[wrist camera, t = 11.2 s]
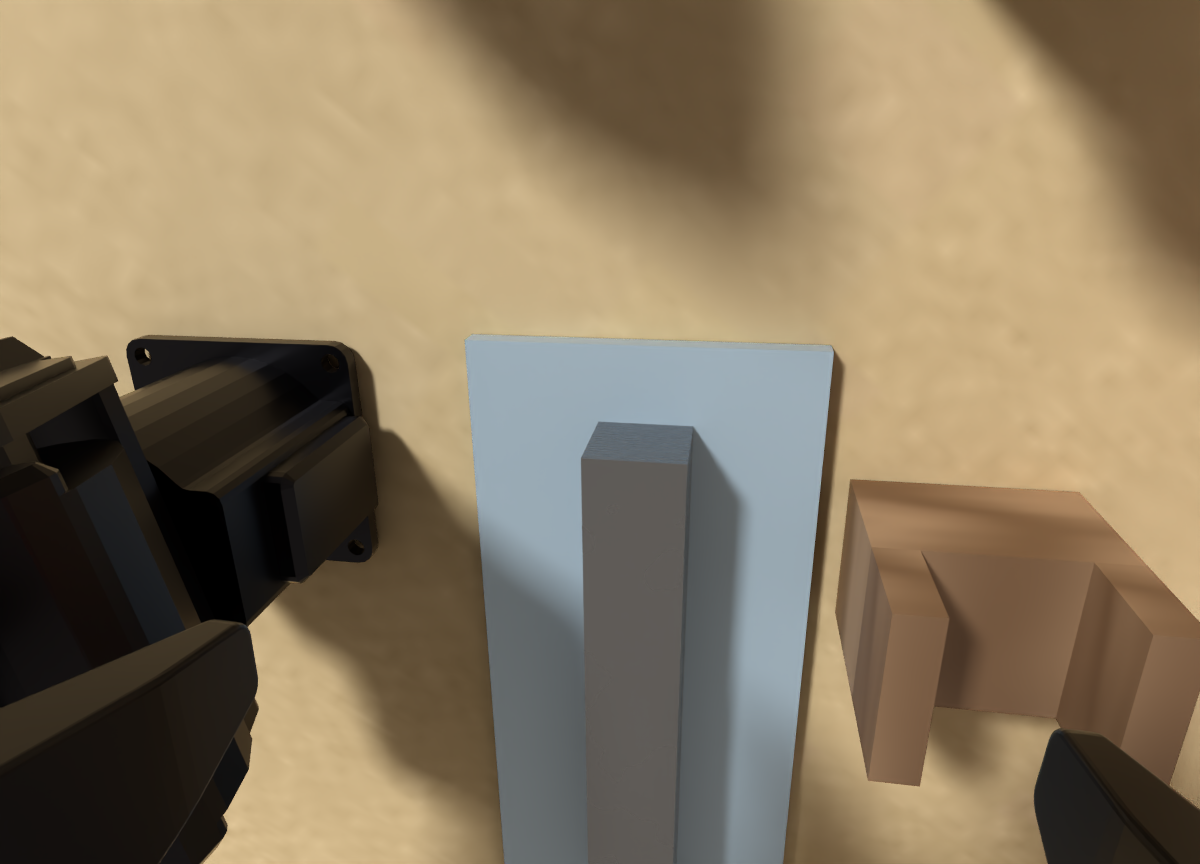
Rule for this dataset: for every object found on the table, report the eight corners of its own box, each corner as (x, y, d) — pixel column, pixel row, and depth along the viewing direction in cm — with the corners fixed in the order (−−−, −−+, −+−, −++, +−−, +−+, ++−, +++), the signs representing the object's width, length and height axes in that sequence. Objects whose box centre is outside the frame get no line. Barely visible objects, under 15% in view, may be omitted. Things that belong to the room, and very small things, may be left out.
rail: (668, 1083, 29) (662, 1162, 27) (604, 1071, 29) (593, 1148, 27) (692, 426, 20) (687, 464, 17) (598, 421, 20) (580, 458, 18)
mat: (525, 1071, 31) (521, 1088, 31) (472, 333, 20) (464, 339, 20) (756, 1114, 30) (756, 1132, 29) (831, 345, 19) (833, 351, 18)
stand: (835, 612, 21) (867, 780, 16) (850, 479, 20) (892, 613, 14) (1047, 630, 21) (1159, 814, 15) (1079, 492, 19) (1216, 640, 14)
